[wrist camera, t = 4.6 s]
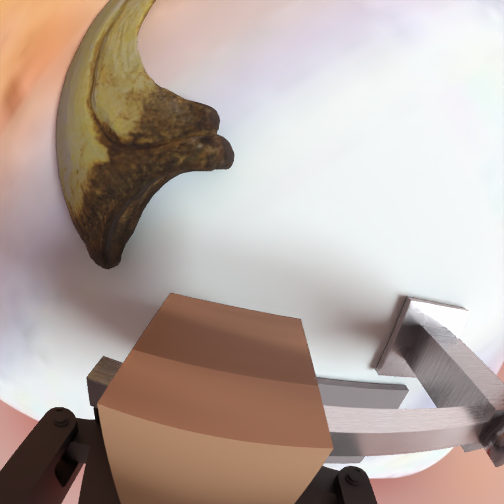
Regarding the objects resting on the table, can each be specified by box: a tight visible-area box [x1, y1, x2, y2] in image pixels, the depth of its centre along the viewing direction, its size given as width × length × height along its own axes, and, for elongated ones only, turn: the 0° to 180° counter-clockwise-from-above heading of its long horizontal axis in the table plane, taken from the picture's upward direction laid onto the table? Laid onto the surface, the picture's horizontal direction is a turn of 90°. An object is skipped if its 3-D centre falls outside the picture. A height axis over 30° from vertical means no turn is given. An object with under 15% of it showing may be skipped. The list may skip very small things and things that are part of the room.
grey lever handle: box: [86, 297, 504, 467], centre depth 11 cm, size 18×5×10 cm, turn 77°
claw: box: [56, 0, 234, 269], centre depth 12 cm, size 20×10×3 cm, turn 175°
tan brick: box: [97, 293, 333, 504], centre depth 10 cm, size 8×4×11 cm, turn 168°
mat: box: [316, 378, 409, 463], centre depth 17 cm, size 8×8×1 cm
